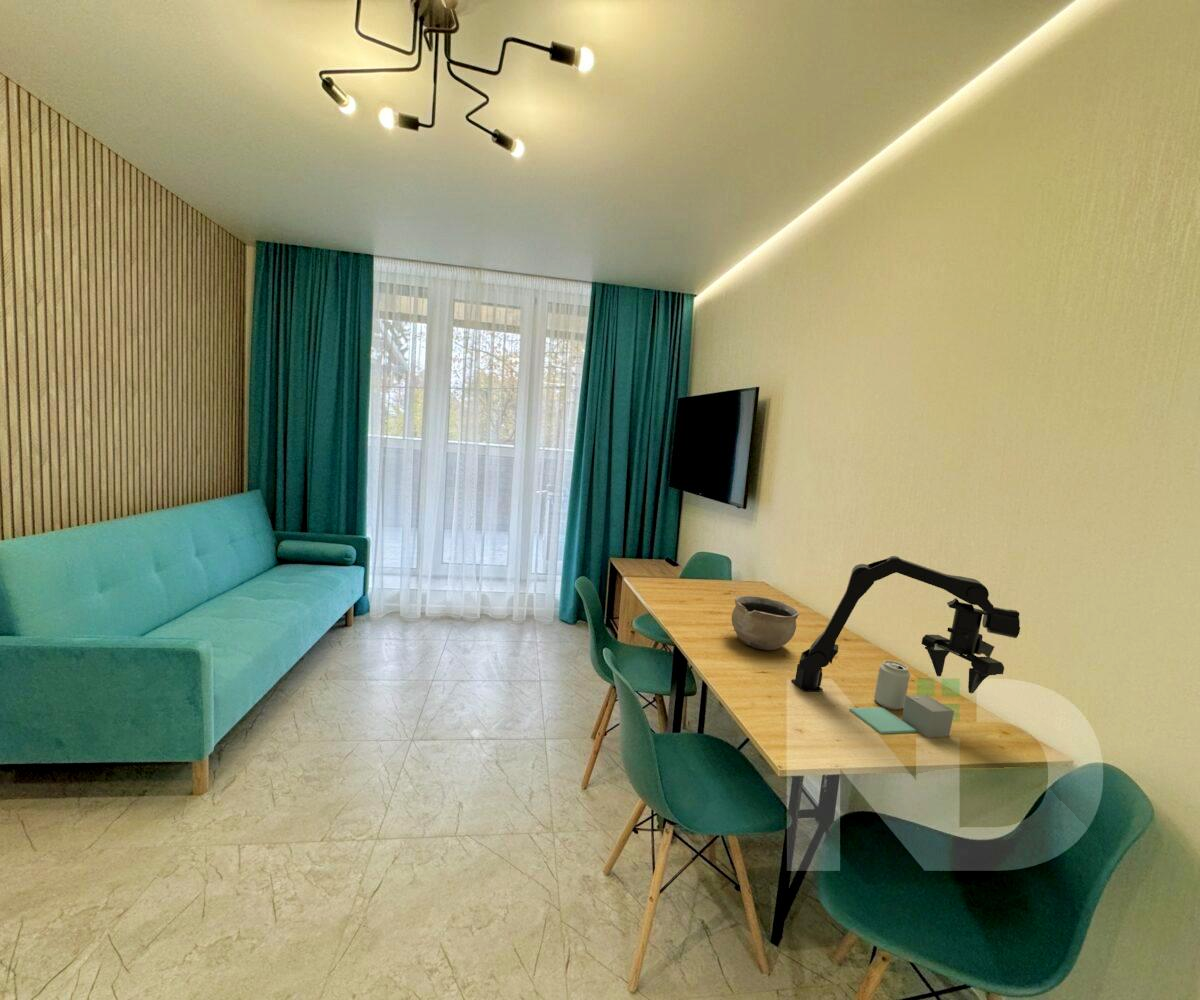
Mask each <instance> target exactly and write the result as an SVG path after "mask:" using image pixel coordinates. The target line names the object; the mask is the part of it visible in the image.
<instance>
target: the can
mask: <svg viewBox="0 0 1200 1000" xmlns="http://www.w3.org/2000/svg"><path fill="white" fill-rule="evenodd" d="M910 678H911V673H910V672H909V667H908V666H907V665H905V664H903V663H901V662H898V661H896V660H895V661H894V660H889V659H888V660H886V659H885V660H883V662H882V664H880V665H879V669H878V674H877V679H876V685H875V690H874V696H873V697H874V700H875V701H876V702H877V704H878V705H880V706H882V707H883V708H885V709H890V710H894V711H899V710H900V709H904V704H905V699H906V696H907V694H908V689H909V688H908V687H909V683H910Z"/></svg>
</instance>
